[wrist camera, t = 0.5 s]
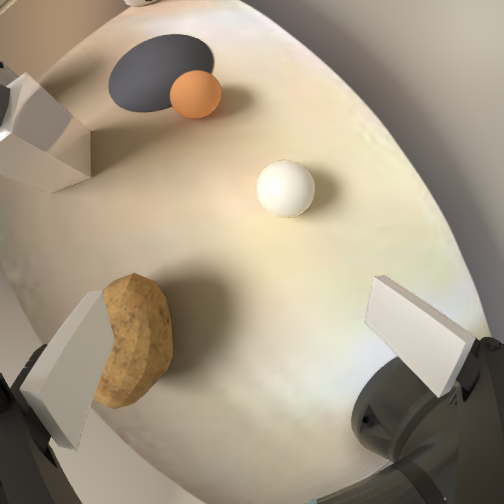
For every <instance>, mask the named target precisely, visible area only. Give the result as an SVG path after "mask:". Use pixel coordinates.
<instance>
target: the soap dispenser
mask: <svg viewBox="0 0 504 504" xmlns="http://www.w3.org/2000/svg"><path fill="white" fill-rule="evenodd" d="M0 176H3V177H6V178H8V179H11V180H14V181H17V182H20V183H22V184H25V185H28V186H31V187H34V188H37V189H39V190H42V191H45V192H48V193H51V194H52V193H54V192H57V191H59V190H61V189H64V188H66V187H69V186H72V185H74V184H77V183H79V182H82V181H85V180H87V179H90V178H91V131H90V130H89V129H88V128H87V127H86V126H84V125H83V124H82V123H81V122H80V121H79V120H78V119H77V118H76V117H74V116H73V115H72V114H71V113H70V112H69V111H68V110H67V109H66V108H64V107H63V106H62V105H61V104H60V103H59V102H58V101H57V100H56V99H55V98H53V97H52V96H51V95H50V94H49V93H48V92H47V91H46V90H45V89H44V88H43V87H41V86H40V85H39V84H38V83H37V82H36V81H35V80H34V79H33V78H32V77H31V76H30V75H29V74H27V73H24V74H23V75H21V76H20V77H18V78H17V79H16V80H14V81H13V82H11V83H10V84H9V85H7V86H6V87H5V86H3V85H1V84H0Z"/></svg>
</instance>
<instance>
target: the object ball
mask: <svg viewBox="0 0 504 504" xmlns="http://www.w3.org/2000/svg"><path fill="white" fill-rule="evenodd" d="M221 96H222V90H221V86H220V84H219V82H218V80H217V79H216V78H215V77H214V76H213V75H211V74H210V73H208V72H205V71H199V70H196V71H190V72H187V73H185V74H183V75H181V76H180V77H179V78H178V79H177V80H176V81H175V82H174V84H173V85H172V88H171V91H170V101H171V104H172V106H173V108H174V109H175V111H176V112H178V113H179V114H180V115H182V116H184V117H187V118H202V117H205V116H207V115H209V114H210V113H212V112H213V111H214V110H215V109H216V108H217V106H218V105H219V103H220V100H221Z"/></svg>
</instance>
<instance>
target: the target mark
mask: <svg viewBox="0 0 504 504" xmlns="http://www.w3.org/2000/svg"><path fill="white" fill-rule="evenodd" d="M212 63H213V62H212V55H211V52H210V50H209V48H208V47H207V46H206V44H204V43H203V42H202V41H200V40H199V39H197V38H194V37H191V36H188V35H181V34H170V35H163V36H158V37H155V38H152V39H149V40H147V41H144V42H142V43H140V44H139V45H137V46H135V47H134V48H132V49H131V50H130V51H128V52H127V53H126V54H125V55H124V56H123V57H122V58H121V59H120V60H119V61H118V63H117V64H116V66H115V67H114V69H113V71H112V73H111V76H110V79H109V92H110V95H111V97H112V99H113V100H114V102H115V103H116V104H117V105H119V106H120V107H122V108H124V109H126V110H129V111H134V112H152V111H157V110H161V109H165V108H168V107H171V106H172V104H171V101H170V91H171V88H172V85H173V84H174V82H175V81H176V80H177V79H178V78H179V77H180V76H181V75H183V74H185V73H187V72H190V71H196V70H199V71H205V72H208V73H210V72H211V69H212Z"/></svg>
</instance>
